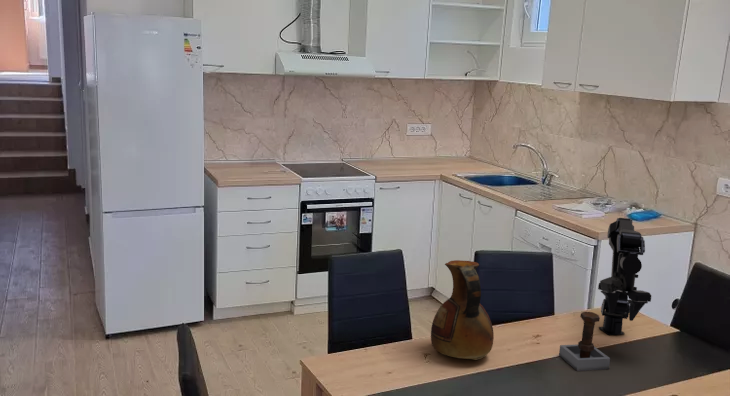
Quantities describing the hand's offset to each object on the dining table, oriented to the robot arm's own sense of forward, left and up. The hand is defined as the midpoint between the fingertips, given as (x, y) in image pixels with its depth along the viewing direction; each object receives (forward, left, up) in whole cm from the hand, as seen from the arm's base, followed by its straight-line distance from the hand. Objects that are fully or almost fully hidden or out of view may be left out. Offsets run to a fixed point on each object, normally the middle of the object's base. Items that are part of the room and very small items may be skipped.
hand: (621, 317), depth 215 cm
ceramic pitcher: (-3, -54, -12) cm, 55 cm away
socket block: (+7, -16, -12) cm, 21 cm away
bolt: (+7, -16, -11) cm, 21 cm away
